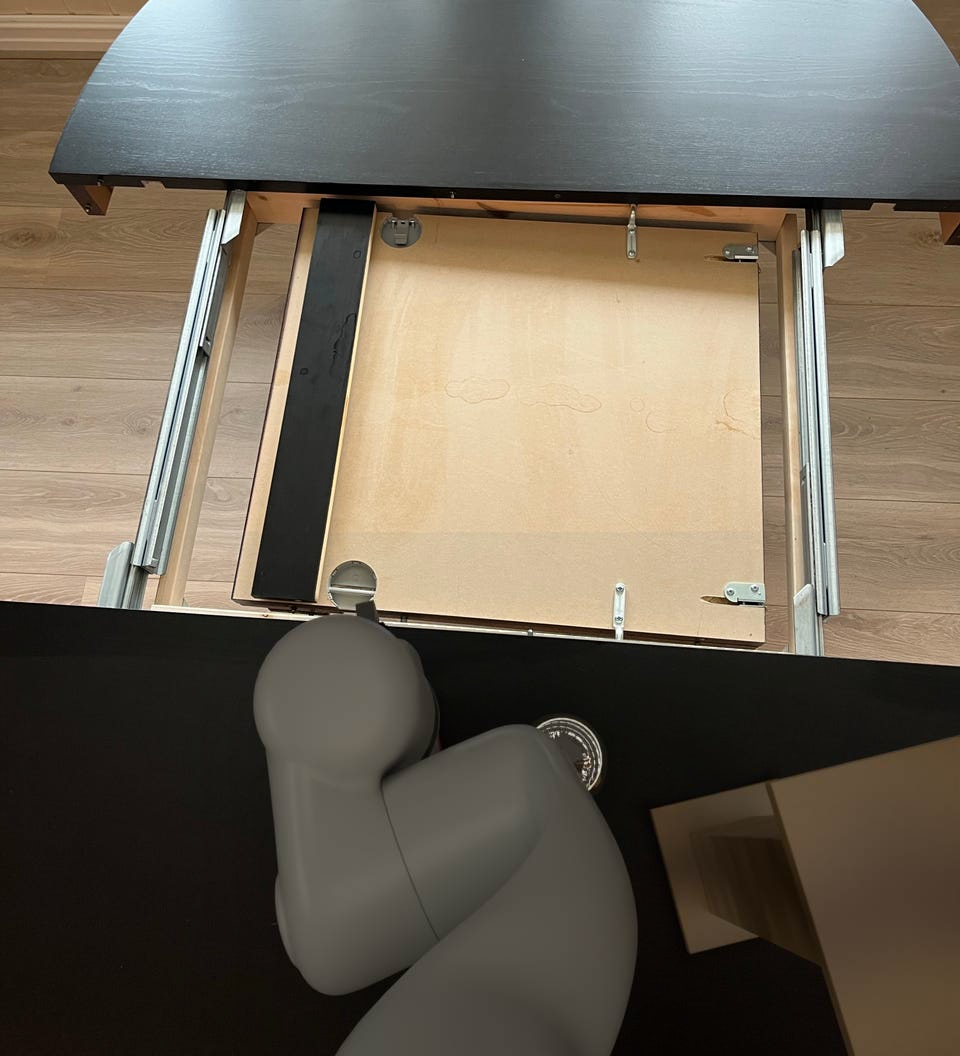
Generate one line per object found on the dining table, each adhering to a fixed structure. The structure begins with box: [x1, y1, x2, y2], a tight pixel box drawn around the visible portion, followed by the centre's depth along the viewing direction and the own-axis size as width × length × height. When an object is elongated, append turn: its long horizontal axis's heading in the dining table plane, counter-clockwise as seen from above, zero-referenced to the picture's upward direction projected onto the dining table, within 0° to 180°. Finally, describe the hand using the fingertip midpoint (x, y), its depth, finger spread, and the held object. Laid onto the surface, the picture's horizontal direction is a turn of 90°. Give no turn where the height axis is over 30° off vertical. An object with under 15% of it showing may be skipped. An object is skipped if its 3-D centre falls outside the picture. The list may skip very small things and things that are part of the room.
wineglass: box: [529, 712, 609, 799], centre depth 68 cm, size 6×6×12 cm
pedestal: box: [649, 734, 960, 1056], centre depth 52 cm, size 10×10×41 cm
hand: (402, 741), depth 74 cm, fingers open, 8 cm apart
